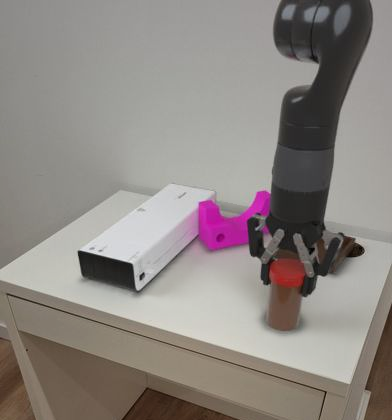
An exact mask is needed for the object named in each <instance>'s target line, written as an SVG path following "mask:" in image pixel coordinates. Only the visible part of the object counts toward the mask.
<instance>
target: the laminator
mask: <svg viewBox="0 0 392 420" xmlns="http://www.w3.org/2000/svg"><path fill="white" fill-rule="evenodd" d="M207 200H212V201H213V202H214V203H215V204H216V205H217V191H216V190H212V189H207V188H202V187H196V186H190V185H185V184H179V183H173V182H171V183H169V184H168V185H166V186H165V187H164V188H162V189H161V190H159V191H158V192H157V193H155V194H154V195H153V196H151V197H150V198H148V199H147V200H146V201H144V202H143V203H142V204H140V205H139V206H138V207H136V208H135V209H133V210H132V211H130V212H129V213H127V214H126V215H125V216H123V217H122V218H121V219H119V220H118V221H117V222H115V223H114V224H113V225H111V226H110V227H108V228H107V229H105V230H104V231H103V232H101V233H100V234H99V235H97V236H96V237H94V238H93V239H92V240H90V241H89V242H88V243H86V244H85V245H83V246H82V247H81V248H79V249H78V250H77V251H76V252H77V258H78V263H79V269H80V273H81V276H82V278H84V279H91V280H94V281H98V282H101V283H105V284H108V285H112V286H116V287H120V288H124V289H127V290H131V291H135V292H136V293H139V292H141V291H142V290H143V289H144V288H145V287H146V286H147V285H148V284H150V282H152V280H154V279H155V278H156V277H157V276H158V274H160V273H161V272H162V271H163V270H164V269H165V268H166V267H168V265H169V264H170V263H171V262H172V261H173V260H174V259H175V258H176V257H177V256H179V254H181V252H183V250H185V249H186V247H188V246H189V245H190V244H191V243H192V242H193V241H194V240H195V239H196V238H197V237H199V205H198V202H202V201H207Z"/></svg>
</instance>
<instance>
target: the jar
mask: <svg viewBox="0 0 392 420" xmlns="http://www.w3.org/2000/svg"><path fill="white" fill-rule="evenodd" d="M302 289H303V285H300V286H296V287H285V286H281V285H278V284H276V283H274V282H273V281H271V279H270V284H269V288H268V297H267V307H266V316H265V321H266V323H267V325H268V326H269V327H270V328H272V329H274V330H277V331H283V332H284V331H291V330H294V329H296V328H297V327H298V326H299V325H300V324H299V323H300V317H301V311H302V305H303V300H304V297H303V296H302Z"/></svg>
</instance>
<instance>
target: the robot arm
mask: <svg viewBox="0 0 392 420" xmlns="http://www.w3.org/2000/svg"><path fill="white" fill-rule="evenodd" d="M372 5H373V4H372V2H371V0H280V1H279V3H278V5H277V7H276V11H275V14H274V18H273V23H272V40H273V44H274V47H275V48H276V50H277V52H278V53H279V54H280V56H282V57H283V58H285V59H288V60H289V61H294V62H300V63H306V64H311V65H318V69H317V72H316V75H315V77H314V78H313V81H312V83H311V84H303V85H297V86H293V87H290V88H289V89H288V90H286V92H285V93H284V95H283V97H282V100H281V105H280V112H279V121H278V122H279V123H278V131H277V142H276V148H275V151H274V152H275V153H274V156H273V161H272V163H273V164H272V168H271V184H270V204H269V214H268V216H262V215H261V214H260V213H258V212H257V213H255V214H254V215H252V216H251V217H250V218H249V219H248V220H247V229H248V240H249V242H248V249H249V255H250V256H251V257H252V258H257V259H259V261H260V264H261V265H260V280H261V281H262V285H264V286H266V287H268V286H270V278H269V270H270V265H271V263H272V262H274V261H275V260H276V258H273V256H274V255H275V253H276V252H277V250H278V249H282V250H290V251H292V252H293V253H296V254H299V257H300V260H301V263H303V264H304V268H305V271H306V275H305V276H304V283H303V289H302V296H303V298H308V297H309V296H311V295H312V294H313V293H314V291H315V290H316V287H317V282H318V276H319V277H322V278H324V277H327V275H328V274H330V273H329V272H330V270H331V269H332V268H333V266H334V263H335V261H336V258H337V256H338V253H339V251H340V248H341V246H342V244H343V241H344V239H345V236H346V235H345V233H344V232H343V231H342V232H341V231H339V232H336V234H334V233H335V232H332V231H330V230H327V227H326V224H325V217H326V211H327V205H328V199H329V194H330V190H331V189H330V188H331V184H332V183H331V182H332V177H333V170H334V163H335V149H336V141H337V135H338V128H339V122H340V119H341V112H342V109H343V105H344V103H345V100H346V97H347V95H348V93H349V90H350V89H351V88H350V87H351V85H352V82H353V80H354V77H355V75H356V73H357V71H358V68H359V66H360V65H361V62H362V60H363V57H364V55H365V53H366V51H367V48H368V45H369V44H370V43H369V42H370V40H371V37H372V32H373V28H374V10H373V6H372ZM265 224H266V227H267V229H268V231H269V232H268V233H269V234H270V236H271V240H270V241H269V243H268V245H267V246H266V247H265V240H264V233H263V229H264V228H265ZM321 238H322V239H323V240H324V247H325V249H327V252H326V254H325V257H324V260H323V262H322V263H319V259H318V249H317V245H316V242H318V241H319V240H320V239H321Z"/></svg>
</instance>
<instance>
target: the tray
mask: <svg viewBox="0 0 392 420" xmlns="http://www.w3.org/2000/svg"><path fill="white" fill-rule="evenodd" d="M333 233H334V234H337V232H333ZM356 239H357V238H356V237H352V236H348V235H345V239H344V241H343V244H342V246H341V248H340V251H339V253H338V256H337V258H336V261H335V263H334V266H333V268H332V269H331V270H330V272H329V273H328V274H331V275H334V274H335V273H336V272H337V270H338V268H340V267H341V265H342V263H343V262H344V261H345V260H346V258H347V257H348V255H349V254H350V253H351V252H352V250H353V249H354V248H355V245H356ZM316 245H317V249H318V259H319V263H322V262H323V260H324V257H325V254H326V252H327V249H325V247H324V240H323V239H322V238H321V239H320V240H319V241H318V242H316ZM284 258H290V259H296V260H299V261H301V260H300V257H299V254H296V253H293V252H292V251H290V250H282V249H278V250H277V252H276V253H275V255H274V256H273V259H276V260H278V259H284Z"/></svg>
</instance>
